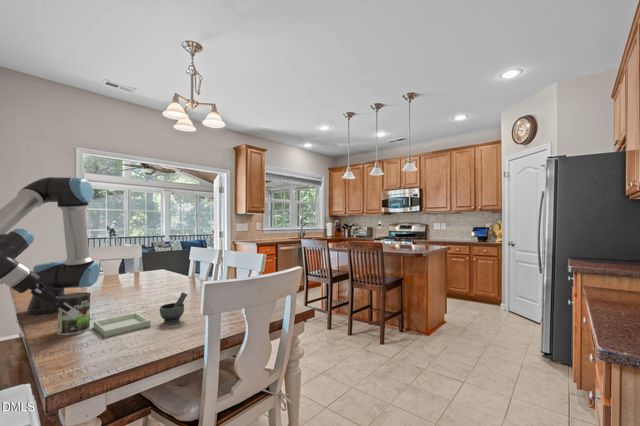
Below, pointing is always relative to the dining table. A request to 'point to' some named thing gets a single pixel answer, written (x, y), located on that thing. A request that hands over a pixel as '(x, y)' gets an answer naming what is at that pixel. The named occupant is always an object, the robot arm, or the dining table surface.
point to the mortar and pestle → (173, 310)
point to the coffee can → (81, 320)
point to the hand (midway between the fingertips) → (72, 311)
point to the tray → (121, 324)
